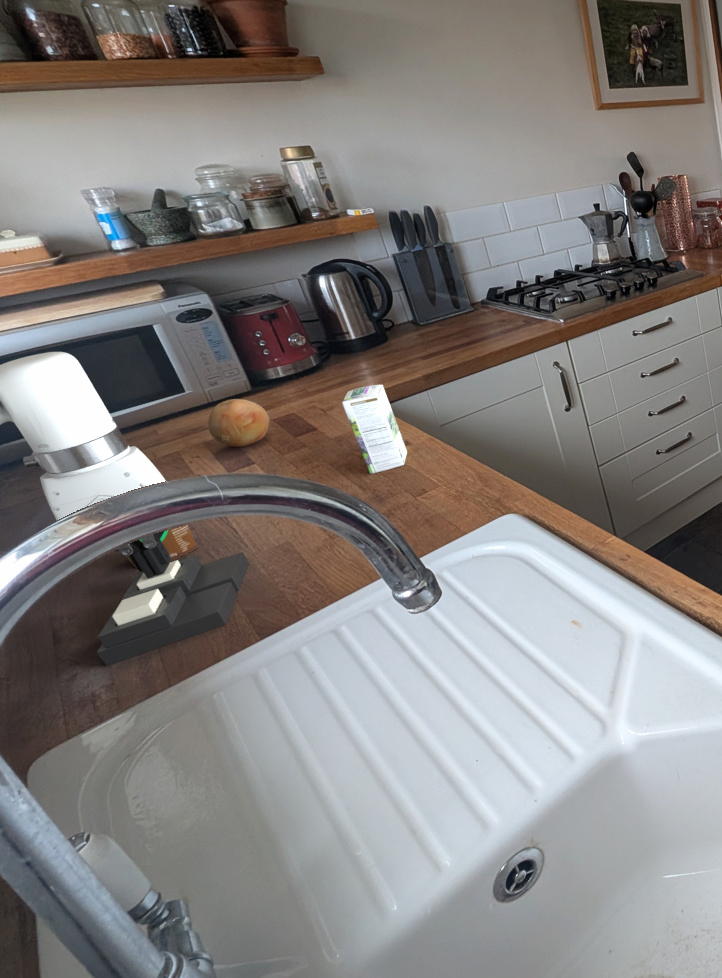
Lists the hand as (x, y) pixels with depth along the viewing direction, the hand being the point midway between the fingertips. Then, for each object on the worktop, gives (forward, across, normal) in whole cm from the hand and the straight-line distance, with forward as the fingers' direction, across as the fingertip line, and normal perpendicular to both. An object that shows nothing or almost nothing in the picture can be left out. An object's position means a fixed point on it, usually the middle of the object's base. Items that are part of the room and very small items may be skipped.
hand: (159, 570), depth 91 cm
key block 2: (+5, +2, -8) cm, 10 cm away
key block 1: (+5, +2, 0) cm, 5 cm away
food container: (+5, -6, +15) cm, 17 cm away
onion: (+5, -1, +59) cm, 59 cm away
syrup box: (+5, +26, +26) cm, 37 cm away
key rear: (+2, 0, 0) cm, 2 cm away
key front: (+1, 0, -8) cm, 8 cm away
